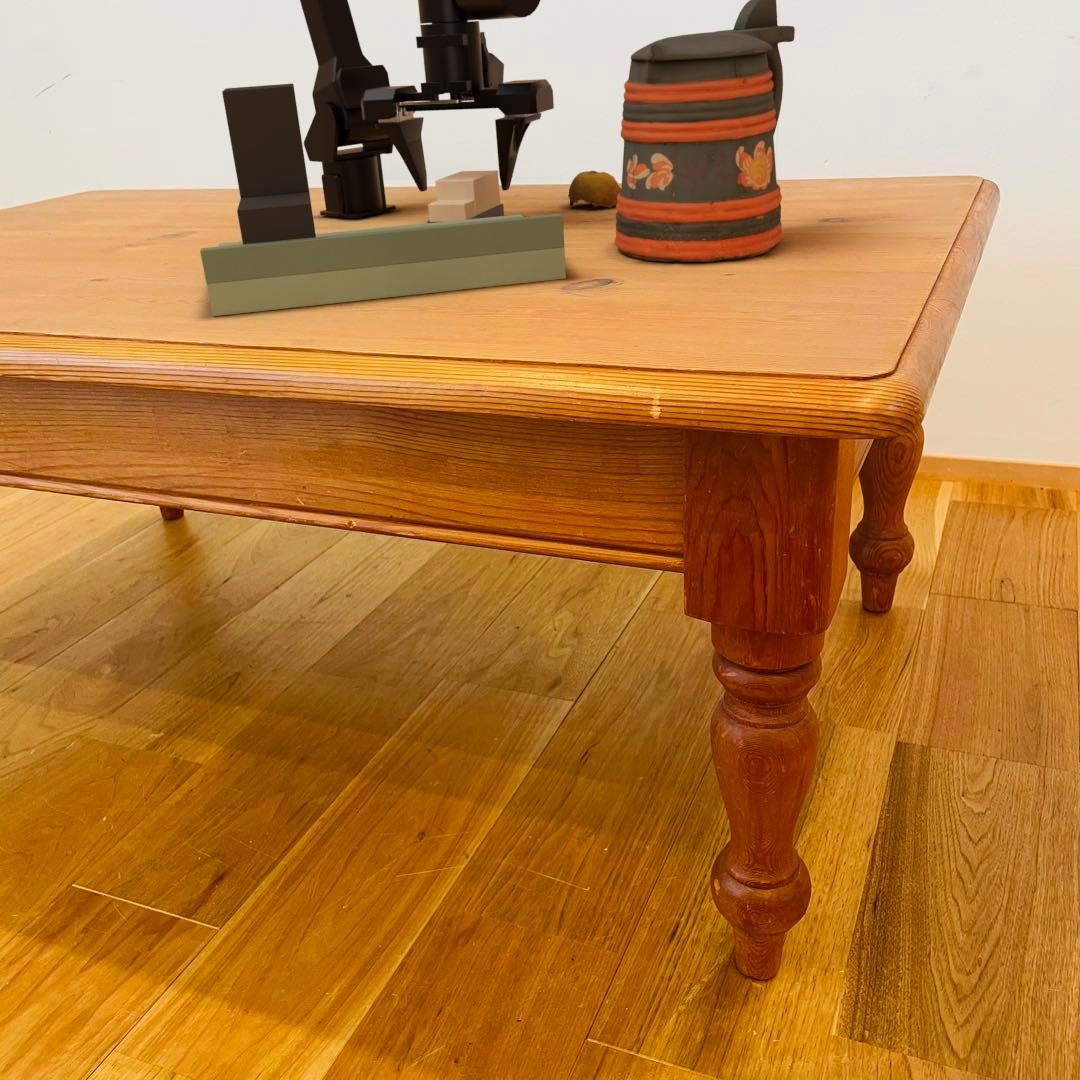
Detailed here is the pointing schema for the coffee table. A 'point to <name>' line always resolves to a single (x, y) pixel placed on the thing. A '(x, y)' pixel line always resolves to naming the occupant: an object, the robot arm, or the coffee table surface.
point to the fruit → (594, 189)
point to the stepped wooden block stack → (466, 197)
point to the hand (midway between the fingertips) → (464, 190)
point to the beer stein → (703, 143)
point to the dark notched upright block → (269, 163)
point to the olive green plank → (384, 263)
